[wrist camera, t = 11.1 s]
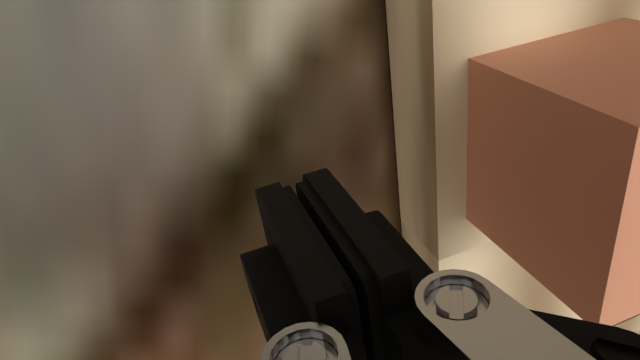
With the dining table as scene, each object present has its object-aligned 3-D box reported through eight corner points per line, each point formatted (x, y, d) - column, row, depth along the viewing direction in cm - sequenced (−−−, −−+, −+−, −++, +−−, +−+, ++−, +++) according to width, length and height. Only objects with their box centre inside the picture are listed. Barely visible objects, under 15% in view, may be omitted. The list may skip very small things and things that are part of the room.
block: (466, 218, 15) (597, 332, 11) (468, 58, 13) (638, 127, 9) (598, 172, 16) (762, 260, 12) (624, 17, 14) (842, 60, 10)
